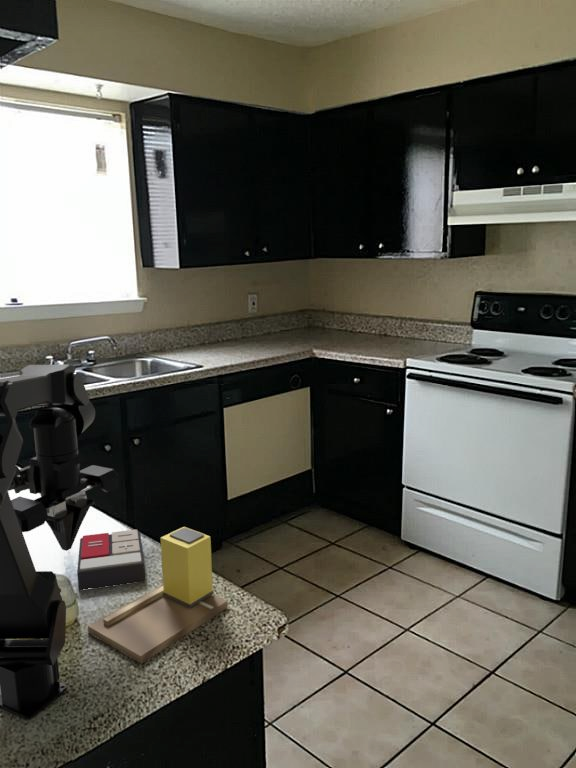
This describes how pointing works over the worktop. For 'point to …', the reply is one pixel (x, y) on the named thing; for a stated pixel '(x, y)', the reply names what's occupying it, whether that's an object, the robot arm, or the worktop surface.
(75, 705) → the worktop surface
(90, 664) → the worktop surface
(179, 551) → the yellow pillar grey top
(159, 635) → the subfloor panel
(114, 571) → the red and grey box
